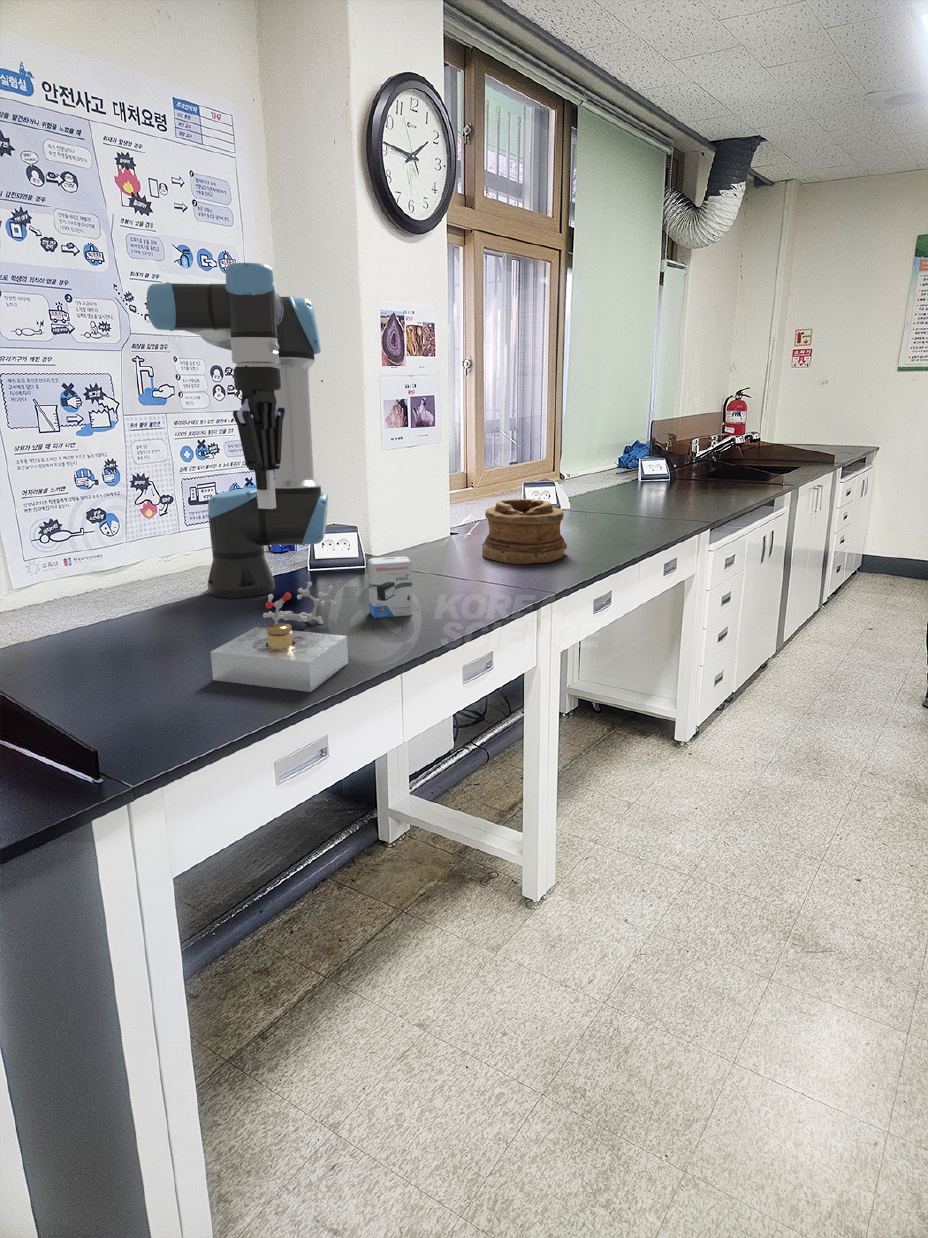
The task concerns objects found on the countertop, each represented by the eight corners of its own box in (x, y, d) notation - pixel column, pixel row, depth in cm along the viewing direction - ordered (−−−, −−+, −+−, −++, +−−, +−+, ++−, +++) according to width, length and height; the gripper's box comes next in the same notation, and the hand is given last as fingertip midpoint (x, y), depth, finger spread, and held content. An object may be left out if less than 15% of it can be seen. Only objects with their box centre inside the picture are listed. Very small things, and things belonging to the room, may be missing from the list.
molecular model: (308, 616, 169) (309, 570, 166) (345, 626, 164) (347, 579, 161) (238, 637, 154) (237, 586, 151) (277, 649, 149) (277, 597, 146)
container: (564, 566, 211) (566, 509, 206) (475, 563, 214) (475, 507, 210) (567, 548, 232) (569, 496, 227) (486, 546, 235) (486, 495, 231)
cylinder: (266, 674, 136) (262, 629, 134) (278, 666, 140) (274, 622, 137) (287, 676, 135) (283, 631, 132) (298, 668, 138) (295, 624, 136)
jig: (213, 680, 133) (210, 651, 132) (257, 653, 146) (255, 626, 145) (311, 692, 128) (309, 662, 127) (348, 662, 141) (346, 635, 140)
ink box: (373, 618, 166) (371, 563, 163) (369, 612, 171) (367, 558, 167) (413, 615, 168) (412, 560, 165) (408, 609, 173) (407, 555, 169)
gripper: (255, 365, 125) (266, 515, 132) (295, 365, 137) (304, 503, 144) (213, 365, 127) (227, 513, 134) (257, 365, 139) (267, 501, 146)
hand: (267, 507), depth 139 cm, fingers closed
